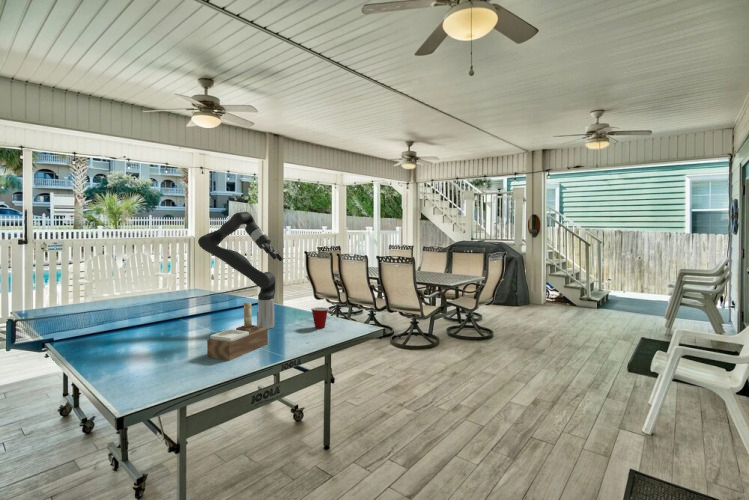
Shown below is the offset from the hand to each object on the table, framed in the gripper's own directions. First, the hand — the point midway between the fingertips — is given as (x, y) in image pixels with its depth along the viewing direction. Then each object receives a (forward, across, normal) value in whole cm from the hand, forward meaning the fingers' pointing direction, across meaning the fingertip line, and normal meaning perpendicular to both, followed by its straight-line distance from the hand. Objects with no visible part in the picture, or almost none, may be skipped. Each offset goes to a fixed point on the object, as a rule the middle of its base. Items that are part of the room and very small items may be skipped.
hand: (278, 259), depth 214 cm
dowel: (+22, +16, -32) cm, 42 cm away
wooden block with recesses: (+27, +20, -40) cm, 52 cm away
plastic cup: (+40, -27, -14) cm, 50 cm away
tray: (+21, +28, -36) cm, 50 cm away
